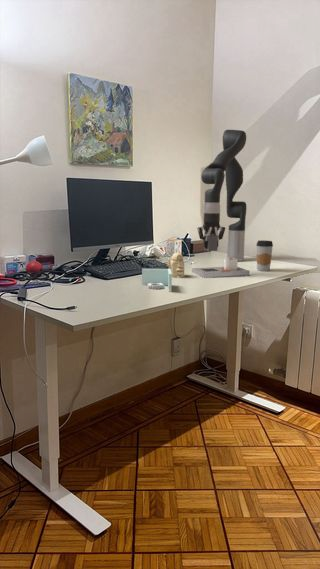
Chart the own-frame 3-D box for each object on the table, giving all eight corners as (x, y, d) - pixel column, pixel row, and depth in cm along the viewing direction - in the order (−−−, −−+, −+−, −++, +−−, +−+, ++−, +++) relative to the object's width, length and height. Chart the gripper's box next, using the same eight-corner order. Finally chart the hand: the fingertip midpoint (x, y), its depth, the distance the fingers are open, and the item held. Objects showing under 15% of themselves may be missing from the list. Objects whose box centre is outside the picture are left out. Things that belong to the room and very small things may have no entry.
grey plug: (204, 249, 222) (204, 232, 220) (213, 249, 223) (213, 232, 222) (208, 251, 218) (209, 233, 216) (217, 250, 219) (217, 233, 218)
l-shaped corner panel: (142, 286, 197) (142, 268, 195) (170, 286, 197) (170, 268, 196) (141, 292, 185) (141, 273, 184) (171, 292, 185) (171, 273, 184)
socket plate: (191, 273, 227) (191, 266, 227) (235, 271, 235) (235, 264, 234) (203, 278, 214) (203, 271, 214) (249, 275, 222) (249, 269, 221)
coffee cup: (270, 269, 242) (272, 240, 239) (272, 271, 234) (274, 242, 231) (254, 268, 242) (255, 240, 240) (255, 271, 234) (257, 241, 231)
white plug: (224, 272, 228) (224, 255, 226) (232, 272, 229) (233, 255, 228) (228, 274, 224) (229, 257, 222) (236, 273, 225) (237, 256, 223)
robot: (167, 279, 210) (167, 246, 208) (163, 276, 218) (163, 244, 215) (189, 279, 213) (190, 246, 210) (184, 276, 220) (185, 244, 217)
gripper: (222, 211, 223) (220, 247, 226) (194, 212, 218) (193, 248, 221) (229, 212, 216) (227, 249, 219) (201, 212, 211) (200, 250, 215)
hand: (210, 248), depth 220 cm, fingers closed on grey plug, 4 cm apart
